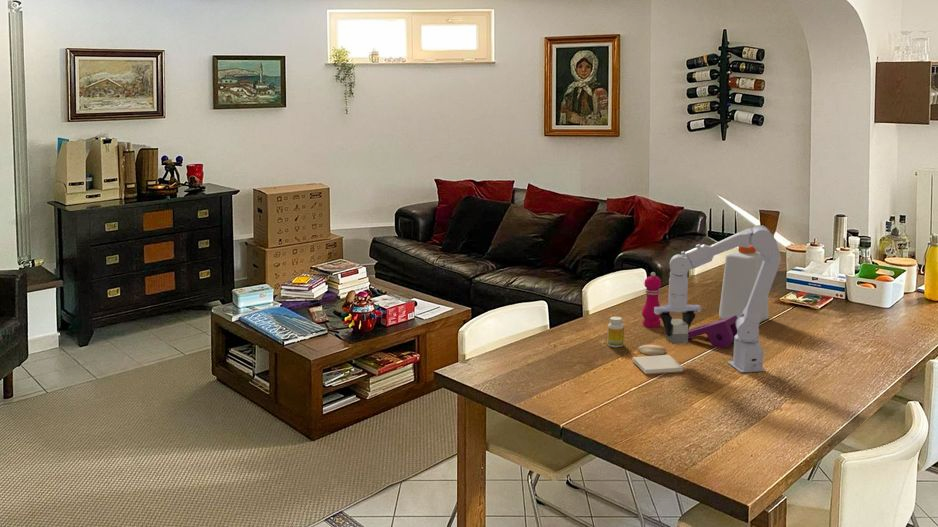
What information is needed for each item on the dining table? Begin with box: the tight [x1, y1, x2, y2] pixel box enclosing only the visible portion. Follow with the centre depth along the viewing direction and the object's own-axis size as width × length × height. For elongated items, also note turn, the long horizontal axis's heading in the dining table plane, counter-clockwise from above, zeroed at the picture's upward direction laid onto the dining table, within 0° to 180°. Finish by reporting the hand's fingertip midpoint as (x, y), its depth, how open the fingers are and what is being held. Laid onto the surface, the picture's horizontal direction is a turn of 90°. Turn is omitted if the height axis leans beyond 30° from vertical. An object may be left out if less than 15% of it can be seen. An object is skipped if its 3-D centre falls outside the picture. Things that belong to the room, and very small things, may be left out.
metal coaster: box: [637, 344, 667, 356], centre depth 270 cm, size 9×9×1 cm
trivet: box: [632, 354, 684, 376], centre depth 254 cm, size 12×12×2 cm
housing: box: [664, 318, 689, 345], centre depth 257 cm, size 7×5×6 cm
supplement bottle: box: [606, 316, 625, 348], centre depth 276 cm, size 5×5×10 cm
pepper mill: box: [641, 271, 662, 328], centre depth 296 cm, size 7×7×20 cm
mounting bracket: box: [688, 315, 738, 349], centre depth 278 cm, size 9×8×18 cm
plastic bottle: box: [718, 244, 770, 323], centre depth 301 cm, size 15×15×28 cm
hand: (676, 334), depth 257 cm, fingers closed on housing, 5 cm apart
